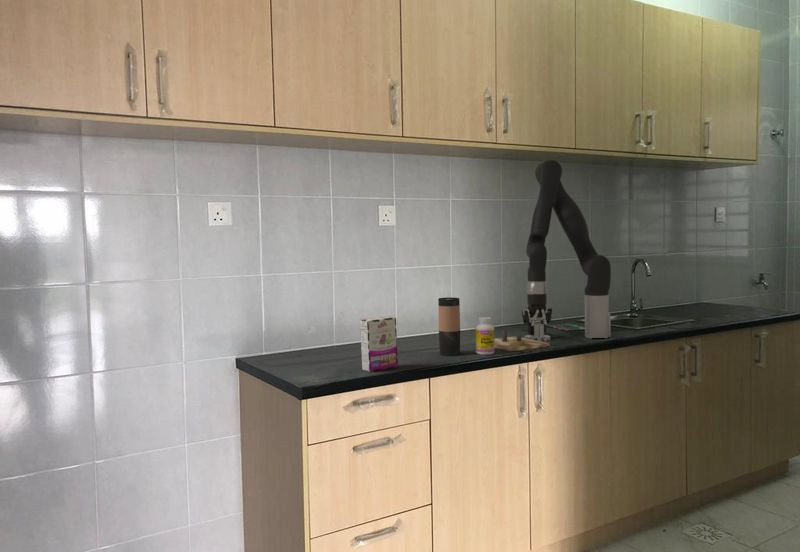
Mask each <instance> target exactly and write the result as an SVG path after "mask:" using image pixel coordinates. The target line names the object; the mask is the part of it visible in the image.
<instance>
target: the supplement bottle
mask: <svg viewBox="0 0 800 552" xmlns="http://www.w3.org/2000/svg"><path fill="white" fill-rule="evenodd" d="M477 320H478V321H477V322H478V324H477V325H476V326H475V331H474V332H475V354H477V355H481V356H487V355H488V356H489V355H494V354H495V347H494V339H495V326H494V325H493V324H492V317H490V316H479V317H478V319H477Z"/></svg>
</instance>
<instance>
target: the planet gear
mask: <svg viewBox="0 0 800 552" xmlns="http://www.w3.org/2000/svg"><path fill="white" fill-rule="evenodd" d="M533 326H534V335H533V336H531V335H529V334H526V335H524V337H523V338H526V339H531V340H536V341H541V342H547V341H550V340H551V335H549V334H548V335H546V334H544V324H543V323H540V322H534V325H533Z"/></svg>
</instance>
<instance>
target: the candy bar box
mask: <svg viewBox="0 0 800 552" xmlns="http://www.w3.org/2000/svg"><path fill="white" fill-rule="evenodd" d="M359 324H360V327H359V328H360V345H361V347H360V348H361V368H362V371H364V372H370V373H373V372H378V370H379V371H383V370H389V369H390V370H391V369H394V368H395V369H396V368H398V367H399V365H398V363H399V361H398V360H399V358H398V357H399V355H398V341H397V339H398V338H397V334H398V333H397V317H395V316H390V315H389V316H388V315H387V316H380V317H379V316H378V317H372V318H365V319H360V320H359Z"/></svg>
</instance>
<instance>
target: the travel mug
mask: <svg viewBox="0 0 800 552" xmlns="http://www.w3.org/2000/svg"><path fill="white" fill-rule="evenodd" d="M437 302H438V303H437V304H438V342H439V355H440V356H445V357H455V356H456V357H457V356H460V354H461V311H460V310H461V307H460V298H459V297H454V296H453V297H439V298H438V300H437Z"/></svg>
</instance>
